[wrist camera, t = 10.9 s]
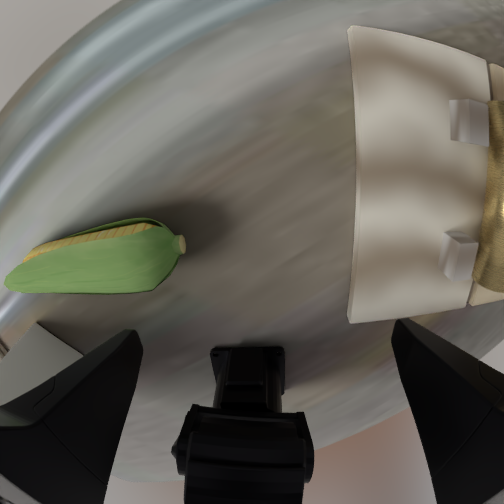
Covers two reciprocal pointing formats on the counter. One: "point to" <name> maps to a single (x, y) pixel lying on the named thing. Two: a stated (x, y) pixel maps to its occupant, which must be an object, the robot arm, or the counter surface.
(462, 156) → the hinge leaves
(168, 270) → the edible corn
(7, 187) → the counter surface
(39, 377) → the milk carton
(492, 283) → the hinge pin
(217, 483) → the robot arm
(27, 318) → the counter surface
